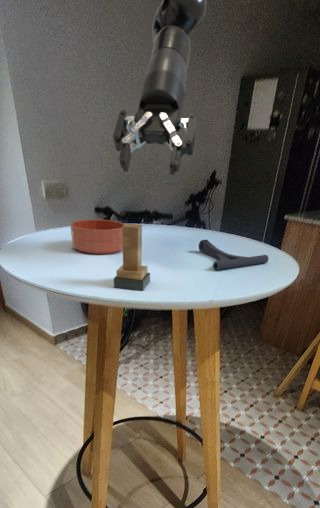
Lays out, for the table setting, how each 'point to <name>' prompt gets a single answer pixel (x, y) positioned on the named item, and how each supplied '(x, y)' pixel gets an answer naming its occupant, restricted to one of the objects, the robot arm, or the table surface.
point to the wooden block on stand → (132, 260)
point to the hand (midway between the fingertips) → (148, 169)
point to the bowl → (97, 236)
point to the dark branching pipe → (229, 257)
